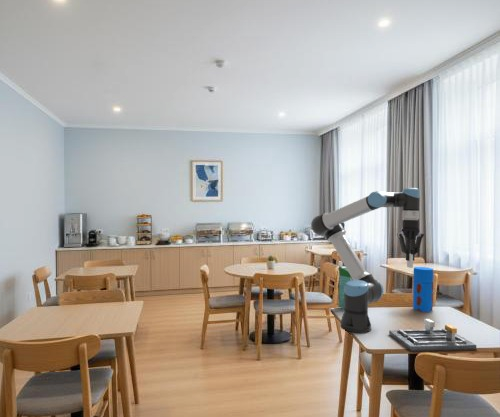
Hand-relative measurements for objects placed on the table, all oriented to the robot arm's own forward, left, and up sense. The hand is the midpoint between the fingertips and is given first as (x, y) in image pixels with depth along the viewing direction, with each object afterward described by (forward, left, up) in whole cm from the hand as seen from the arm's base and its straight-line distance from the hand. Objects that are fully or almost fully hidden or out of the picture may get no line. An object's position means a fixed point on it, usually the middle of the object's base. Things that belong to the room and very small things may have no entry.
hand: (409, 267), depth 180 cm
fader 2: (+11, -16, -30) cm, 36 cm away
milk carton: (-14, +44, -33) cm, 57 cm away
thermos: (+30, +39, -33) cm, 59 cm away
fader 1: (+6, -7, -30) cm, 32 cm away
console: (+4, -12, -32) cm, 35 cm away
